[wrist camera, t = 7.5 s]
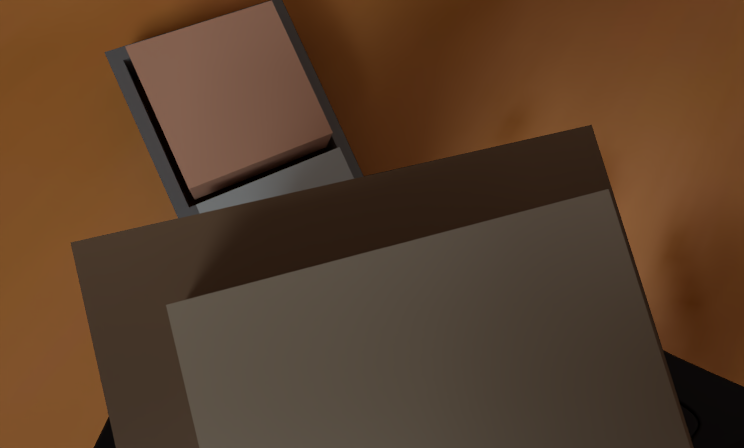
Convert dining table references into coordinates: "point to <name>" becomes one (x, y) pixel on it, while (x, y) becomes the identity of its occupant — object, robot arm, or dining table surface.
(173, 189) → the key pad
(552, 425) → the walnut stylus post
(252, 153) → the terracotta key
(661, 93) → the dining table surface
